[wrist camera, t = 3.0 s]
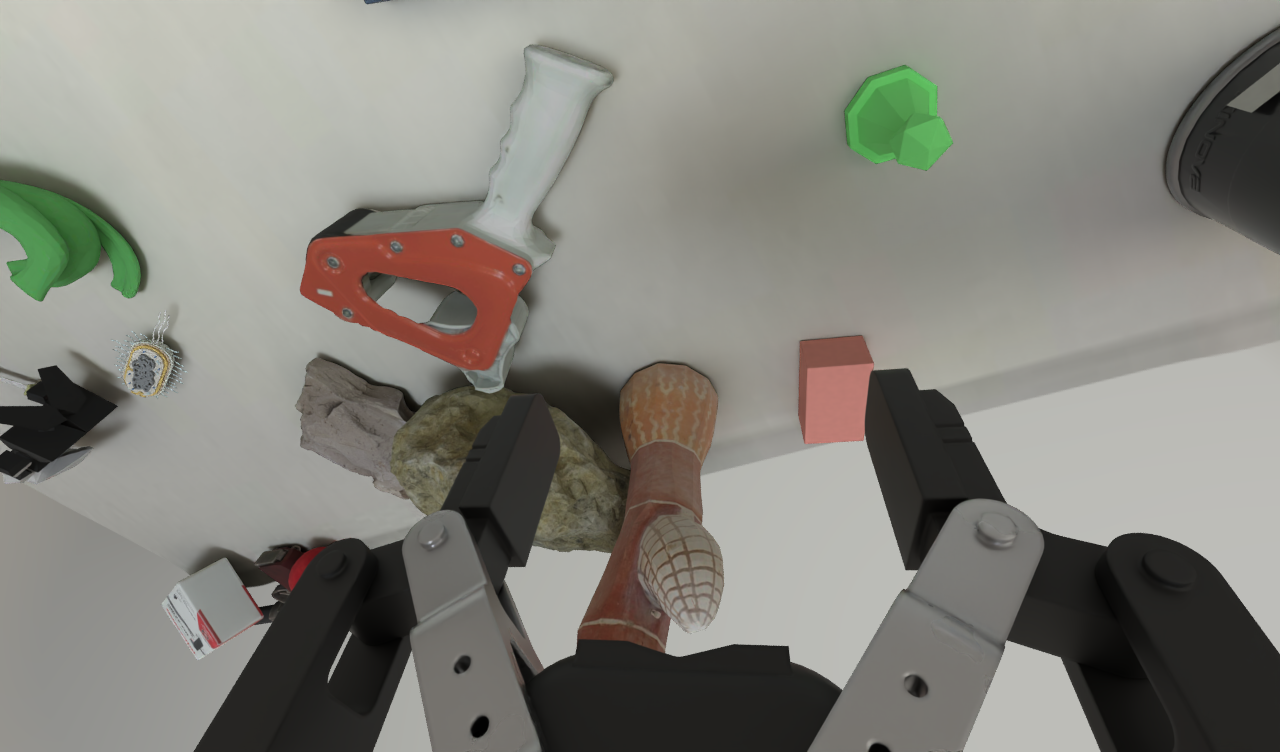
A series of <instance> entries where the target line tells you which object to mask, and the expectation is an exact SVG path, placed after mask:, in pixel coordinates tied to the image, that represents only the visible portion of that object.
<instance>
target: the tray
mask: <svg viewBox="0 0 1280 752" xmlns="http://www.w3.org/2000/svg"><path fill="white" fill-rule="evenodd" d="M364 1H365V3H366V4H373V3H379V2H385V1H390V0H364Z"/></svg>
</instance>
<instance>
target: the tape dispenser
mask: <svg viewBox="0 0 1280 752" xmlns="http://www.w3.org/2000/svg"><path fill="white" fill-rule="evenodd" d="M524 57H525V66H526V75H525V79H524V84H523V88H522V90H521V92H520V94H519V96H518V98H517V99H516V100H515V101H514V102H513V104H512V105H511V107H510V112H511V125H510V129H509V130H508V132H507V134H506V135H505V136H504V137H503V138H502V139H501V141H500V147H501V153H500V158H499V160H498V162H497V163H496V164H495V165H494V166H493V167H492V168H491V169H490V173H489V179H490V186H489V190H488V195H487V198H486V200H485V201H484V202H483V201H470V202H457V203H444V204H431V205H423V206H418V207H417V208H416V209H415V210H395V211H385V212H379V211H377V210H373V209H355V210H353V211H351V212H349V213H348V214H346V215H345V216H343V217H342V218H341V219H339V220H338V221H336V222H335V223H333V224H332V225H330V226H329V227H327V228H326V229H324V230H323V231H321V232H320V233H319V234H317V235H316V236H315V237H313V238H312V239H311V241H310V243H309V245H308V248H307V254H306V265H305V270H304V274H303V278H302V282H301V286H300V292H301V294H302V295H303V296H305V297H306V298H308V299H309V300H311V301H313V302H315V303H317V304H318V305H320V306H322V307H324V308H326V309H328V310H330V311H332V312H334V314H335V315H336V316H337V317H339V318H340V319H342V320H344V321H347V322H352V323H359V324H360V325H362V326H366V327H370V328H371V329H373V330H375V331H379V332H381V333H383V334H385V335H386V336H390V337H393V338H395V339H398V340H400V341H403V342H405V343H407V344H410V345H412V346H415V347H417V348H419V349H421V350H422V351H424V352H426V353H429V354H431V355H433V356H435V357H438V358H440V359H442V360H444V361H446V362H448V363H450V364H453V365H455V366H457V367H458V368H459V369H460V370H462V371H463V373H464V374H465V375H466V377H467V379H468V380H469V381H470V383H472V384H473V385H474V387H475V390H478V391H483V392H486V393H494V392H497V391H499V390H501V389H502V388H503V387H504V384H505V380H506V377H507V374H508V372H509V369H510V366H511V363H512V360H513V356H514V350H515V346H514V344H515V343H516V342H517V341H519V339H520V336H521V333H522V331H523V328H524V326H525V323H526V321H527V318H528V314H529V309H528V307H527V305H526V303H525V302H524V301H523V299H522V298H521V297H520V296H519V295H518V294H519V293H520V291H521V290H522V289H523V288H524V286H525V285H526V284H527V282H528V281H529V279H530V277H531V274H532V271H533V270H535V269H536V268H538V267H539V266H541V265H542V264H544V263H545V262H547V261H548V260H549V259H550V258H551V256H552V254H553V251H554V249H555V246H556V245H555V243H554V242H552V241H551V240H550V239H548V238H547V237H546V235H545V234H544V232H543V231H542V230H540V229H539V228H537V227H535V226H533V225H532V217H533V214H534V212H535V210H536V209H537V208H538V206H539V205H540V203H541V202H542V200H543V199H544V197H545V196H546V194H547V193H548V191H549V190H550V188H551V187H552V185H553V183H554V182H555V180H556V178H557V176H558V175H559V173H560V171H561V169H562V167H563V165H564V164H565V162H566V160H567V158H568V156H569V154H570V152H571V150H572V148H573V146H574V144H575V141H576V139H577V137H578V135H579V132H580V130H581V128H582V125H583V123H584V120H585V117H586V114H587V112H588V109H589V106H590V104H591V103H592V101H593V100H594V98H595V97H596V96H597V95H598V94H599V93H600V92H601V91H602V90H604V89H606V88H608V87H610V86H611V85H612V83H613V81H614V79H613V76H612V74H611V73H610V72H609V71H608V70H606V69H605V68H603V67H601V66H599V65H596V64H594V63H592V62H589V61H586V60H583V59H581V58H578V57H575V56H573V55H570V54H567V53H564V52H561V51H558V50H555V49H552V48H548V47H544V46H539V45H529V46H528V47H526V48H524ZM396 276H399V277H405V278H409V279H415V280H420V281H424V282H430V283H436V284H441V285H446V286H450V287H453V288H456V289H458V290H460V291H461V292H462V293H464V294H465V295H464V294H461V293H459V292H455V291H454V292H453V293H451V294H450V295H448V296H447V297H446V298H444V300H443V301H442V302H441V304H440V305H439V306H438V308H437V310H436V311H435V313H434V314H433V316H432V318H431V319H430V321H428V322H426V323H416V322H414V321H412V320H410V319H408V318H406V317H402V316H398V315H397V314H396V313H395V312H393V311H392V310H389V309H384V308H382V307H381V306H380V305H378V304H377V303H376V301H377V300H378V299H379V298H380V297H381V296H382V295H383V294H384V293H385V292H386V291H387V290H388V289H389V288H390V287H391V286H392V285H393V284H394V283H395V280H396Z"/></svg>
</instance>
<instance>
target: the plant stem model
mask: <svg viewBox="0 0 1280 752" xmlns="http://www.w3.org/2000/svg"><path fill="white" fill-rule="evenodd" d="M717 407H718V395H717V394H716V392H715V390H714V388H713V386H712V385H711V383H710V381H709V379H707V378H706V377H704V376H702V375H701V374H699V373H697V372H696V371H694V370H692V369H691V368H689V367H687V366H685V365H675V364H663V363H658V364H655V365H653V366H651V367H648V368H646V369H644V370H641V371H639V372H637V373H635V374H634V375H633V376H632V377H631V378H630V380H629V381H628V382H627V383H626V385H625V386H624V387H623V388H622V390H621V391H620V411H619V416H620V423H621V430H622V434H623V439H624V444H625V448H626V452H627V456H628V459H629V462H630V465H631V473H630V481H629V488H628V495H627V502H626V510H625V518H624V522H623V525H622V528H621V531H620V534H619V537H618V539H617V541H616V544H615V546H614V549H613V551H612V554H611V556H610V559H609V561H608V564H607V566H606V569H605V571H604V574H603V576H602V578H601V580H600V583H599V585H598V587H597V589H596V591H595V594H594V596H593V598H592V600H591V602H590V605H589V607H588V609H587V611H586V613H585V616H584V618H583V620H582V623H581V625H580V627H579V629H578V636H577V644H578V639H592V640H621V641H629V642H632V643H635V644H638V645H641V646H644V647H647V648H650V649H653V650H657V651H660V652H663V653H665V648H666V642H667V636H668V630H669V625H670V619H672V620H673V621H674V622H676V624H678V625H679V626H680V627H681V628H682V629H683V630H684V631H685V632H688V633H690V634H692V633H694V632H698V631H701V630H704V629H706V628H707V627H708V626H709V624H710V623H711V622H712V621H713V620H714V618H715V616H716V613H717V611H718V608H719V605H720V600H721V596H722V592H723V587H724V571H723V560H722V555H721V551H720V547H719V545H718V544H717V542H716V541H715V539H714V538H713V536H712V535H711V534H710V533H709V532H708V531H707V530H706V529H705V528H704V527H703V526H702V515H703V509H702V499H701V483H700V470H701V467H702V465H703V462H704V459H705V457H706V455H707V453H708V451H709V448H710V446H711V442H712V438H713V434H714V427H715V421H716V414H717Z"/></svg>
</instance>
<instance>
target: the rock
mask: <svg viewBox="0 0 1280 752" xmlns="http://www.w3.org/2000/svg"><path fill="white" fill-rule="evenodd" d="M521 394H526V393H515V392H512V391H511V390H510V389H507V388H504V387H503V388H502V389H501V390H499V391H497V392H494V393H486V392H483V391H478V390H475V387H474V386H465V387H459V388H456V389H453V390H451V391H449V392H446V393H443V394H441V395H436V396H433V397H431V398H429V399H428V400H426V401H425V403H424V404H423V405H422V407H421V408H420V409H419V410H418V411H417V412H416V413H415V414H414V415H413V417H412V418H411V419H409V420H408V421H407V422H406V423H405V424H404V425H403V426H402V427H401V428H400V429H399V430H398V431H397V432H396V434H395V436H394V439H393V445H392V450H391V453H392V459H391V461H390V467H391V470H390V472H391V473H392V474H393V475H395V476H396V478H397V480H398V482H399V484H400V486H402V487H403V488H404V489H405V491H406V493H407V495H408V497H409V498H410V499H411V501H412V502H413V504H414V505H415V506H416V507H417V508H418V509H419V510H420V511H421V512H423V513H424V514H426V515H427V516H428V515H430V514H432V513H434V512H437V511H440V509H441V507H442V505H443V503H444V501H445V499H446V497H447V495H448V493H449V491H450V489H451V487H452V485H453V483H454V481H455V479H456V477H457V475H458V473H459V471H460V469H461V467H462V465H463V463H464V462H466V457H467V455H468V453H469V451H470V449H472V445H473V443H474V441H475V439H476V437H477V435H478V433H479V431H480V429H481V428H482V427H483V426H484V425H485V424H486V423H487V422H488V421H489V420H490V419H491V418H492V417H493V416H497V415H501V414H502V412H503V410H504V407H505V405H506V403H507V401H508V399H509V398H510V396H512V395H521ZM546 404H547V403H546ZM547 406H548V409H549V411H550V414H551V416H552V419H553V421H554V424H555V426H556V429H557V431H558V434H559V438H560V456H559V460H558V463H557V466H556V469H555V473H554V476H553V479H552V482H551V486H550V489H549V492H548V495H547V498H546V502H545V505H544V508H543V511H542V515H541V518H540V521H539V524H538V527H537V531H536V534H535V537H534V540H533V544H532V545H533V546H539V547H543V548H547V549H552V550H557V551H559V552H570V551H572V550H587V551H591V550H596V551H600V552H606V553H612V551H613V549H614V546H615V544H616V541H617V539H618V537H619V534H620V531H621V528H622V525H623V522H624V518H625V510H626V502H627V495H628V488H629V481H630V473H631V470H628V469H625V468H622V467H620V466H617V465H616V464H614V463H613V462H612V461H611V460H610V459H609V458H608V456H607V455H606V453H605V452H604V451H603V450H602V449H601V448H600V447H599V446H598V445H597V444H596V443H595V442H594V441H593V440H592V439H591V438H590V437H589V436H588V434H587V433H586V432H585V431H584V430H583V429H582V428H580V427H579V426H578V425H577V424H576V423H575V422H574V421H572V420H571V419H570V418H569V417H568V416H567V415H566V414H565V413H563V412H562V411H561V410H559V409H558V408H555V407H551V406H550V405H549V404H547Z"/></svg>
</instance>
